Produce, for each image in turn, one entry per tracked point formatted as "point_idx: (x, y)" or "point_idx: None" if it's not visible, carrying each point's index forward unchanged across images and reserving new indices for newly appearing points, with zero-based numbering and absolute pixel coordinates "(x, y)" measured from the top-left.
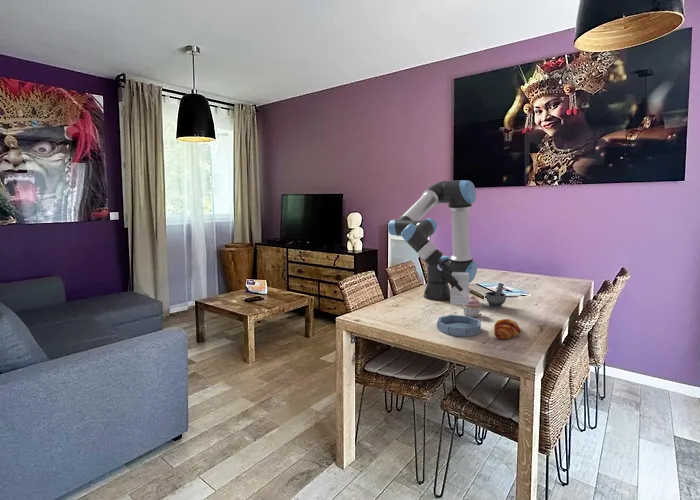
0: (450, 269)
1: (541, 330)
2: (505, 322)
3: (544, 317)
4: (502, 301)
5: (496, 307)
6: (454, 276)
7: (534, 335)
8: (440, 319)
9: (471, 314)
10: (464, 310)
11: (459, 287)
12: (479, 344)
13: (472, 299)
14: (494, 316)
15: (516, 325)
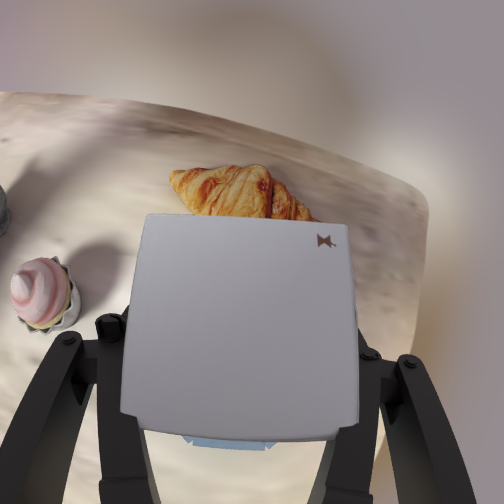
0: (130, 460)
1: (191, 133)
2: (269, 191)
3: (89, 123)
4: (4, 193)
5: (7, 219)
6: (353, 389)
7: (236, 150)
8: (227, 440)
9: (78, 304)
10: (58, 327)
11: (359, 340)
12: (365, 294)
13: (38, 282)
14: (69, 231)
15: (264, 168)
